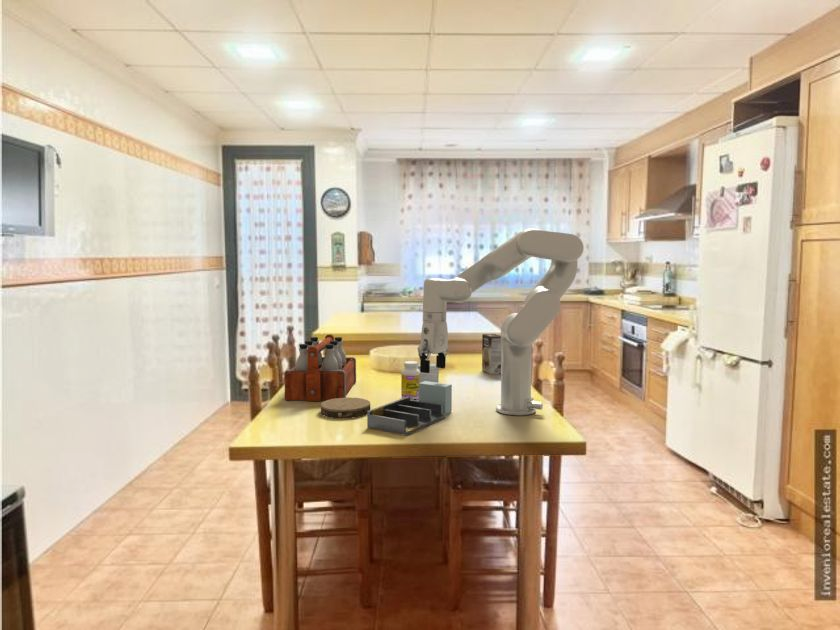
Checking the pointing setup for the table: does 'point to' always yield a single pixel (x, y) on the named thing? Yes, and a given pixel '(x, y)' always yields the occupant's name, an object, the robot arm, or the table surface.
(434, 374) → the medicine box
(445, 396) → the panel
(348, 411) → the round wood slice
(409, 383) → the supplement bottle
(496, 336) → the coffee box
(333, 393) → the milk bottle holder
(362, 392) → the table surface
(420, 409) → the rack
